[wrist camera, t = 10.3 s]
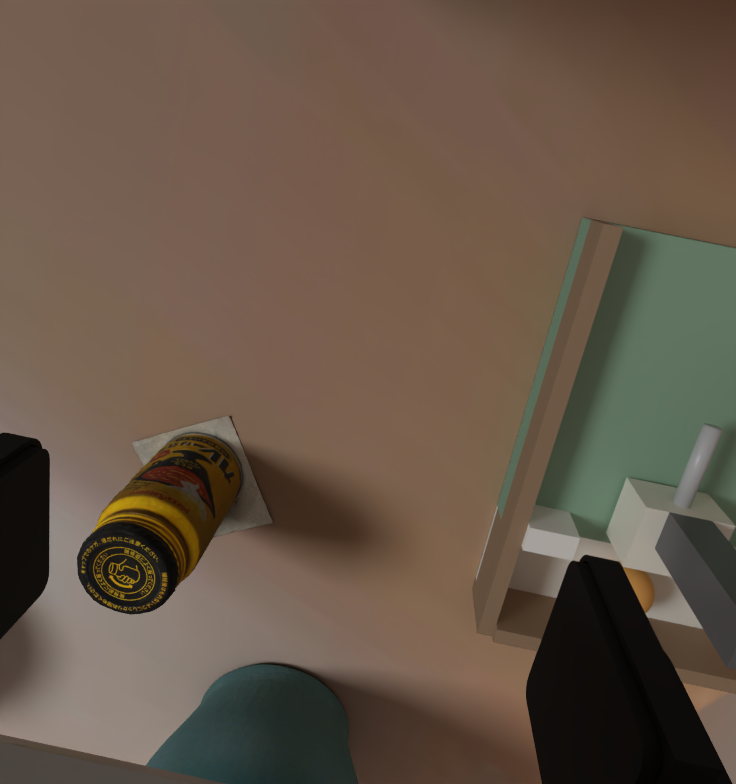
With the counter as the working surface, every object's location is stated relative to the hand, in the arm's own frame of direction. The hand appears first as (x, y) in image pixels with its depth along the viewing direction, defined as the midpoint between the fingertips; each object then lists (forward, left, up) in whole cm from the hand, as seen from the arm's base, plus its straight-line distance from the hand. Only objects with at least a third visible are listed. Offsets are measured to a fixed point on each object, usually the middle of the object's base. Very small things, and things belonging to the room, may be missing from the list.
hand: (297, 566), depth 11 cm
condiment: (+16, -10, -29) cm, 34 cm away
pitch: (+7, +19, -28) cm, 35 cm away
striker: (+8, +19, -26) cm, 33 cm away
